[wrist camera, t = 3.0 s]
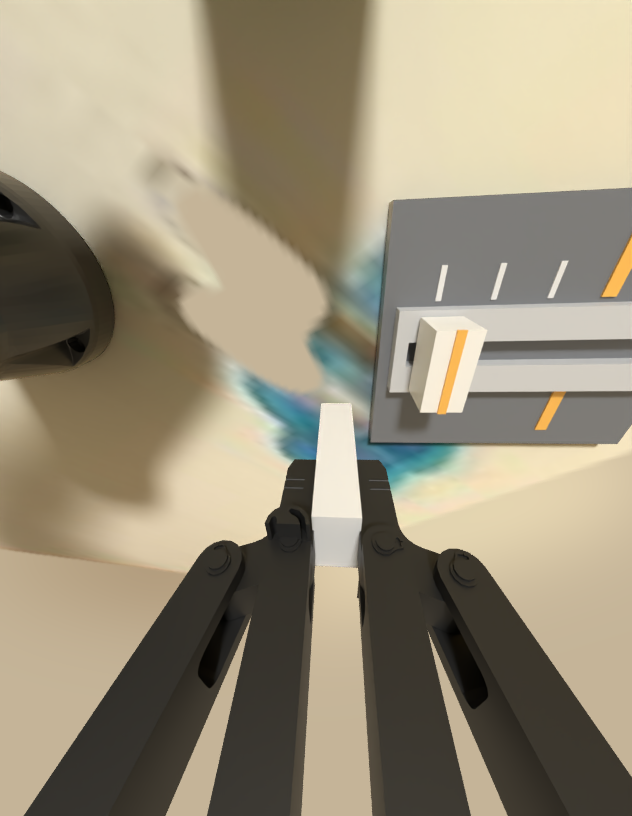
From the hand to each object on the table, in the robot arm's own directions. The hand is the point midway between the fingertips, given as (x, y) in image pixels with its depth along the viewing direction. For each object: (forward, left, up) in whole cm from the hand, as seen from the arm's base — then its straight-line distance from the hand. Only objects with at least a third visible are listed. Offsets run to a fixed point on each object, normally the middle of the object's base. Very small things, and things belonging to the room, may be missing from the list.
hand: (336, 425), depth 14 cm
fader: (+8, 0, -10) cm, 13 cm away
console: (+16, 0, -12) cm, 20 cm away
